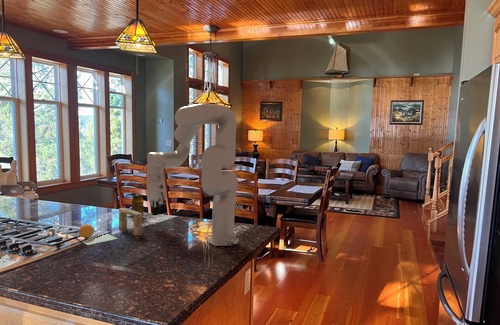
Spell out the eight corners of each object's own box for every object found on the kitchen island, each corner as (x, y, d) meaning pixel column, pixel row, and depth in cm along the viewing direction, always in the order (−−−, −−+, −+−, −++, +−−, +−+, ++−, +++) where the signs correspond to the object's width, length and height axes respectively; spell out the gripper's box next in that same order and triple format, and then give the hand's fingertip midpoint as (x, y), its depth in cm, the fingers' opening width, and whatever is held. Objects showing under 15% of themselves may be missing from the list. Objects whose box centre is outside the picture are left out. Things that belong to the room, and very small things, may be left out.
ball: (84, 242, 150) (97, 236, 154) (80, 230, 148) (94, 224, 152) (78, 238, 154) (92, 231, 158) (74, 226, 152) (88, 220, 156)
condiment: (146, 217, 192) (146, 195, 191) (131, 219, 186) (131, 197, 185) (139, 214, 197) (140, 193, 196) (125, 216, 191) (125, 194, 190)
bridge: (124, 227, 171) (124, 207, 170) (141, 234, 161) (142, 213, 160) (118, 228, 169) (119, 208, 168) (135, 235, 159) (136, 214, 158)
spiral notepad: (117, 238, 154) (117, 238, 154) (87, 245, 144) (87, 244, 144) (103, 232, 162) (103, 231, 162) (74, 237, 153) (74, 237, 153)
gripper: (171, 178, 170) (171, 216, 172) (153, 175, 180) (153, 211, 182) (157, 179, 165) (158, 218, 166) (140, 177, 175) (140, 213, 176)
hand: (155, 214), depth 174 cm, fingers closed
